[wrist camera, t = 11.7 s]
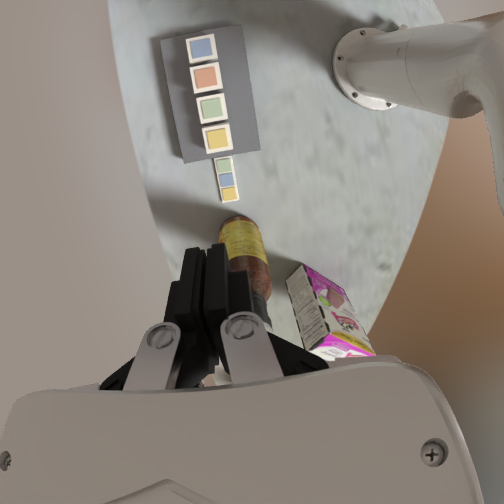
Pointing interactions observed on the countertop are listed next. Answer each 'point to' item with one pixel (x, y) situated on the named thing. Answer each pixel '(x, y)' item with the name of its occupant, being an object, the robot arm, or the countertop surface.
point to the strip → (226, 178)
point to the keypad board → (211, 93)
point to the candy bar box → (326, 317)
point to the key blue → (201, 49)
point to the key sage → (212, 108)
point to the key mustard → (217, 137)
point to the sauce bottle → (249, 260)
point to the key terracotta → (206, 77)
